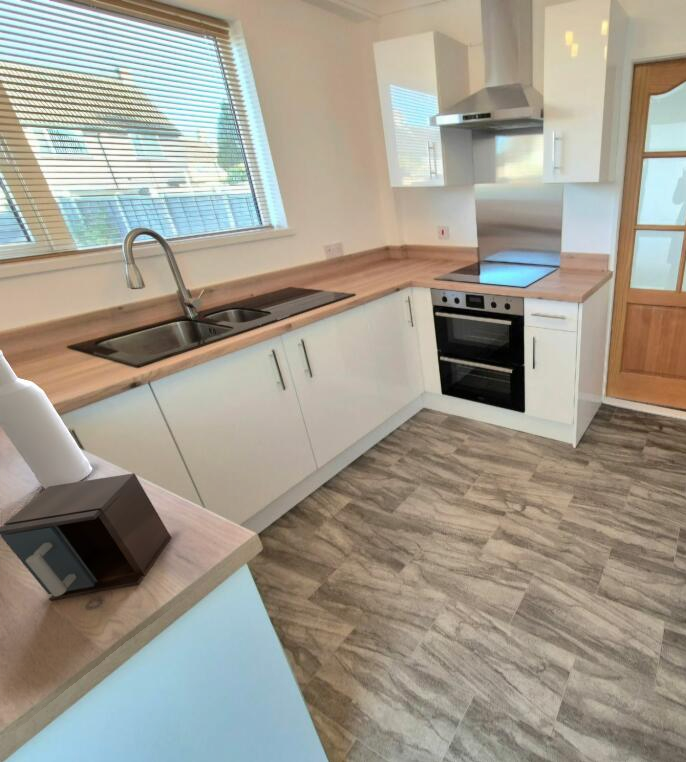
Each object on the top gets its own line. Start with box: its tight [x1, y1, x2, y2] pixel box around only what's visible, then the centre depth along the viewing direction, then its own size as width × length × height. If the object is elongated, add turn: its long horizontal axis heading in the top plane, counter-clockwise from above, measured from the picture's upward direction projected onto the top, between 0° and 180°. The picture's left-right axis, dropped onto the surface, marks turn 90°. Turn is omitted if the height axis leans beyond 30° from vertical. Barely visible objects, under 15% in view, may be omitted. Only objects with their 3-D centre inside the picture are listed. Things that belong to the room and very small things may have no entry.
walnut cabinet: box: [0, 472, 172, 602], centre depth 65 cm, size 12×10×14 cm
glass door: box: [0, 526, 95, 596], centre depth 60 cm, size 6×4×12 cm, turn 101°
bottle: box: [0, 349, 93, 490], centre depth 84 cm, size 8×8×30 cm
